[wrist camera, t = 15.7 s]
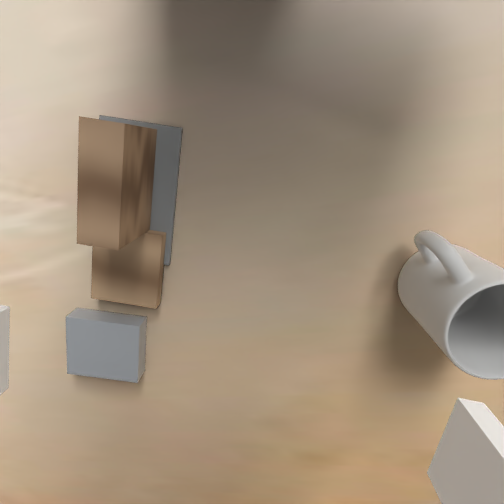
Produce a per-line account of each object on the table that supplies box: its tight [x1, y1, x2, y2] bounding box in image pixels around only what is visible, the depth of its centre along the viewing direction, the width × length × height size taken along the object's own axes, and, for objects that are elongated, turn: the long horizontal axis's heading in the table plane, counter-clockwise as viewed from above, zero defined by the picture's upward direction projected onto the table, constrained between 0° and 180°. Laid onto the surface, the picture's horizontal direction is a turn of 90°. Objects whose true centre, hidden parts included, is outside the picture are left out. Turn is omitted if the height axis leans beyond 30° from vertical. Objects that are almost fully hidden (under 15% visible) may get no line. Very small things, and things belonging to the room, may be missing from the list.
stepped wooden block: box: [77, 116, 166, 309], centre depth 34 cm, size 18×7×8 cm, turn 172°
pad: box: [99, 115, 183, 265], centre depth 37 cm, size 14×8×1 cm, turn 172°
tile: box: [66, 308, 147, 383], centre depth 41 cm, size 7×3×8 cm
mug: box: [398, 230, 504, 380], centre depth 32 cm, size 12×8×11 cm
